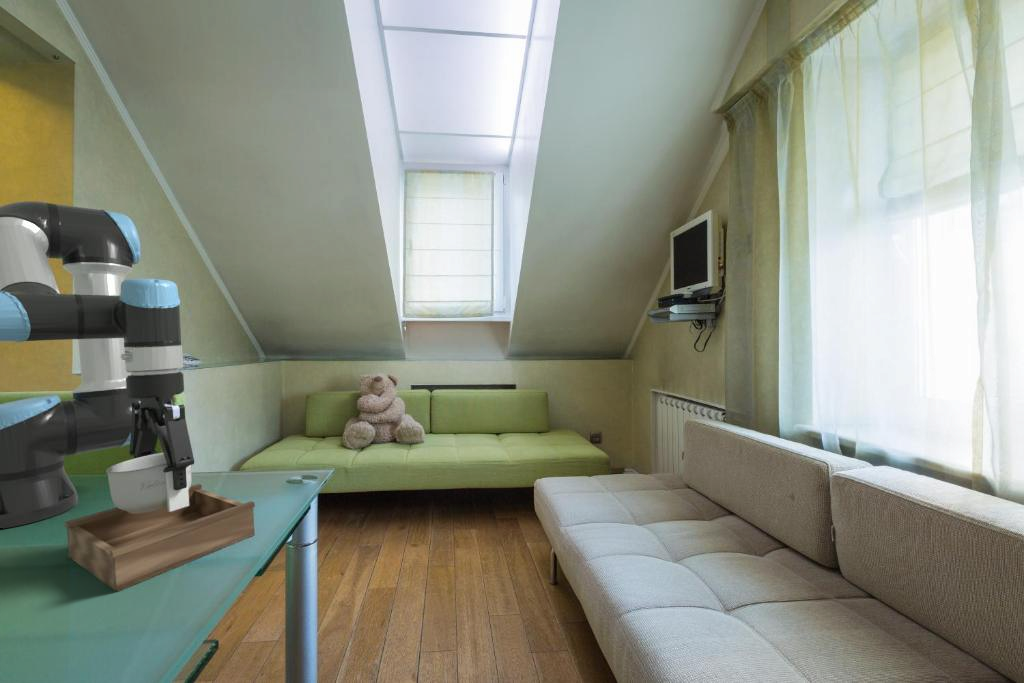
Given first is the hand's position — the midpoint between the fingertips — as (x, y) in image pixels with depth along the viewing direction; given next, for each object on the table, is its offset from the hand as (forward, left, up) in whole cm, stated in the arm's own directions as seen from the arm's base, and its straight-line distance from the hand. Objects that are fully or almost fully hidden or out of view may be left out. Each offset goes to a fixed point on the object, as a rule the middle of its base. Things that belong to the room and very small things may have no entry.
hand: (163, 502), depth 75 cm
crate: (0, 0, -7) cm, 8 cm away
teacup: (-1, 0, 0) cm, 1 cm away
